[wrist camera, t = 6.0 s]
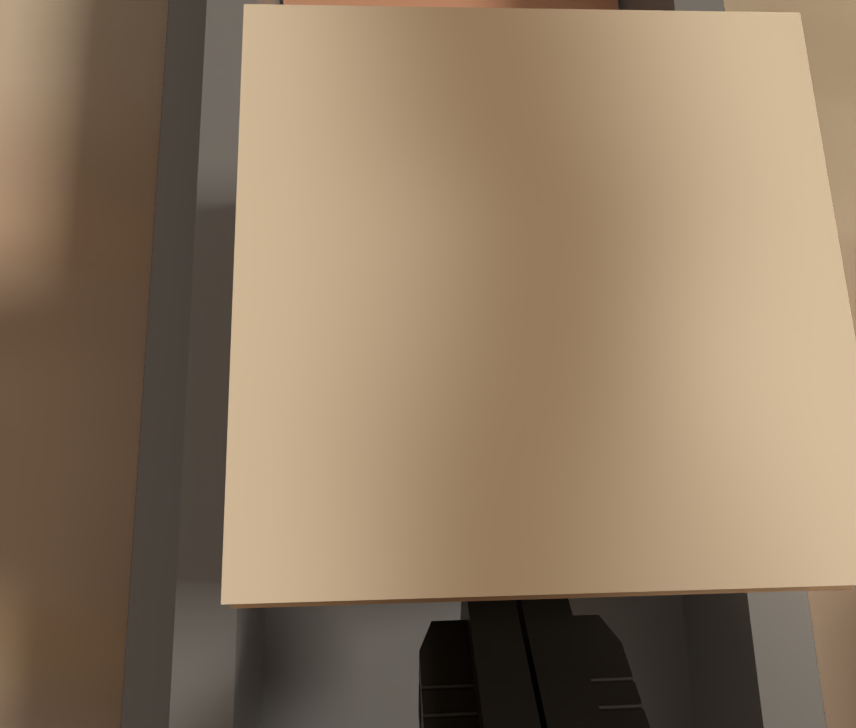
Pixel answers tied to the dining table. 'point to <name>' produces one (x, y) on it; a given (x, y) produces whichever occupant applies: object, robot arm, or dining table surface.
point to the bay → (345, 624)
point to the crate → (533, 310)
